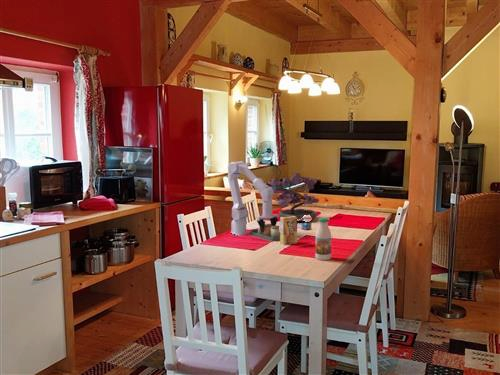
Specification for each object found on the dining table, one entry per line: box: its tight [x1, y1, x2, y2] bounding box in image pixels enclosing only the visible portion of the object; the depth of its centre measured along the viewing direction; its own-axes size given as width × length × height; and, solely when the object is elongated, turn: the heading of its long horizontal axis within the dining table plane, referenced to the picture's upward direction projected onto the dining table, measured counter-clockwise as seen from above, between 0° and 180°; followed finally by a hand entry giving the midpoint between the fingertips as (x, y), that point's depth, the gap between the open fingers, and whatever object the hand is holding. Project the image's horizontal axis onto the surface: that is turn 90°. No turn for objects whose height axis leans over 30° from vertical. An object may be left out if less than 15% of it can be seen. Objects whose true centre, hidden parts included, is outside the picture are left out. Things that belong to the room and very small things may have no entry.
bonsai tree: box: [267, 172, 320, 221], centre depth 335 cm, size 35×27×33 cm
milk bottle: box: [314, 217, 332, 261], centre depth 236 cm, size 8×8×20 cm
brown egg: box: [271, 225, 280, 237], centre depth 277 cm, size 5×5×7 cm
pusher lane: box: [249, 227, 280, 242], centre depth 282 cm, size 22×12×4 cm, turn 36°
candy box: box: [279, 216, 298, 246], centre depth 265 cm, size 9×4×15 cm, turn 116°
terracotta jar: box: [264, 223, 272, 237], centre depth 282 cm, size 5×5×7 cm
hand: (267, 231), depth 282 cm, fingers open, 7 cm apart
